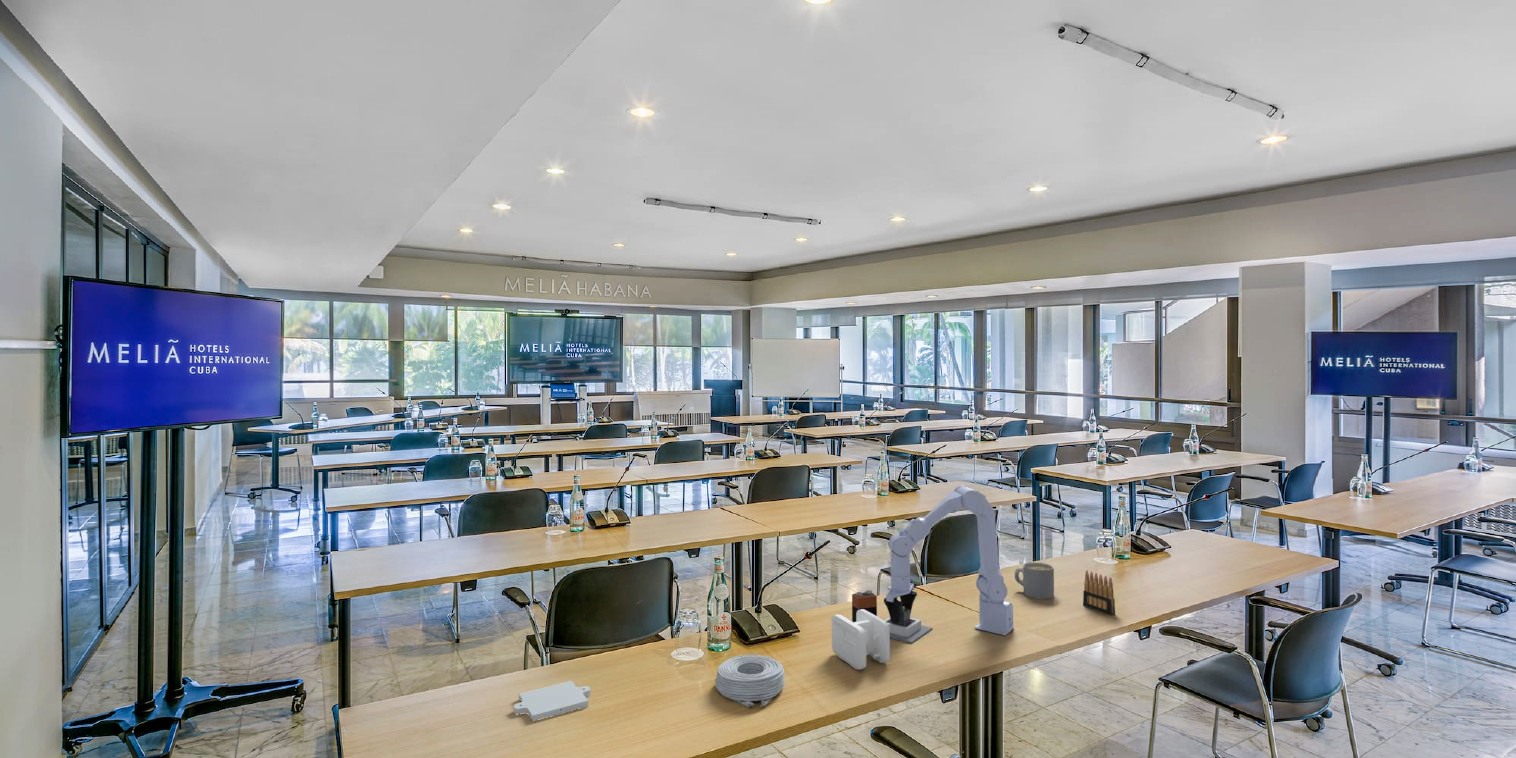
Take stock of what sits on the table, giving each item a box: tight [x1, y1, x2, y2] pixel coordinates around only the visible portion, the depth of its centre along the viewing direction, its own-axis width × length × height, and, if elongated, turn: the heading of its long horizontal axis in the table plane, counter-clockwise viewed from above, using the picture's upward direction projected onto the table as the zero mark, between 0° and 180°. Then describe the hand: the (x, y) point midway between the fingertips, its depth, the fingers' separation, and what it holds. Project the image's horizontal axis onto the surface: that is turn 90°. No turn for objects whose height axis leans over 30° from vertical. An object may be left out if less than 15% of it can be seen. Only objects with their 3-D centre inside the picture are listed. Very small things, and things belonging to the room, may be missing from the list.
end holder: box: [884, 616, 933, 645], centre depth 208 cm, size 14×14×3 cm
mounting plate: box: [513, 680, 592, 722], centre depth 164 cm, size 18×13×2 cm
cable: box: [714, 654, 786, 708], centre depth 171 cm, size 18×18×6 cm
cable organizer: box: [831, 609, 891, 671], centre depth 187 cm, size 15×11×12 cm
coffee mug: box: [1014, 561, 1055, 600], centre depth 242 cm, size 13×10×10 cm
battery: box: [851, 589, 878, 622], centre depth 214 cm, size 4×7×10 cm, turn 109°
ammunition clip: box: [1082, 570, 1116, 616], centre depth 224 cm, size 11×2×12 cm, turn 25°
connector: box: [892, 606, 911, 627], centre depth 208 cm, size 4×4×7 cm
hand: (900, 619), depth 208 cm, fingers open, 7 cm apart
